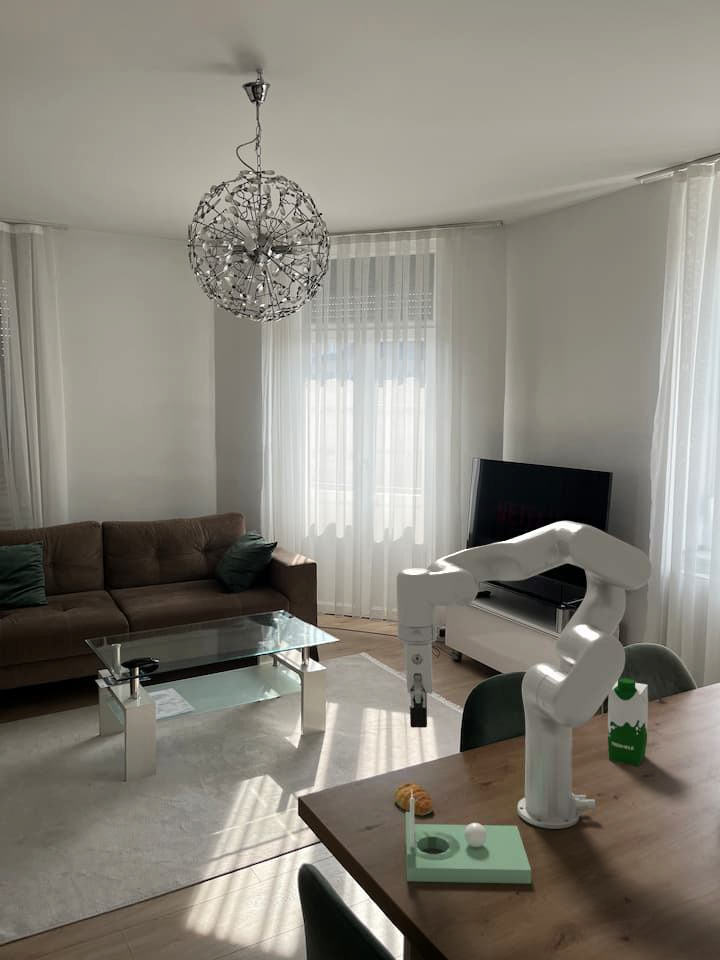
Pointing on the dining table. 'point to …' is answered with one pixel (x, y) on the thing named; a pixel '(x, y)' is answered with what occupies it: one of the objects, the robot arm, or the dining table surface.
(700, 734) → the dining table surface
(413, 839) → the flag
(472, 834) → the ball
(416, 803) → the pastry
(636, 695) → the milk carton
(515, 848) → the mat
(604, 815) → the dining table surface
